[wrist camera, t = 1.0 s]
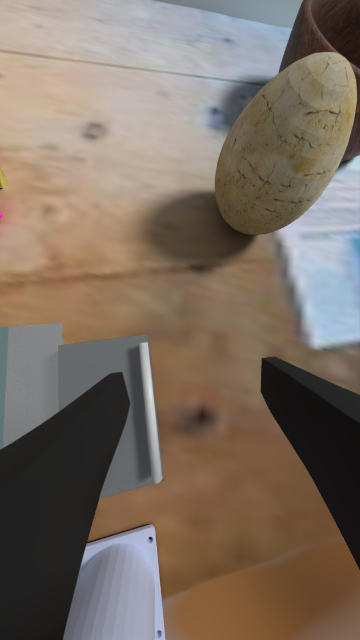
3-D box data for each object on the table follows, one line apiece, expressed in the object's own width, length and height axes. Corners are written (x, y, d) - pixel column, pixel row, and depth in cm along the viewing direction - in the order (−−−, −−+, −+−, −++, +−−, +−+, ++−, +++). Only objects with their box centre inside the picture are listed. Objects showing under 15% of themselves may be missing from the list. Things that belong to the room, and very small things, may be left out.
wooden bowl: (297, 68, 38) (346, -34, 28) (385, 135, 37) (468, 54, 27) (236, 115, 32) (272, 7, 22) (339, 197, 31) (425, 123, 21)
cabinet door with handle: (162, 462, 18) (164, 494, 14) (74, 484, 17) (47, 528, 13) (149, 336, 21) (147, 332, 17) (71, 346, 20) (47, 344, 15)
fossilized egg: (269, 188, 29) (381, 21, 15) (284, 254, 27) (438, 132, 12) (198, 184, 27) (245, -13, 13) (208, 254, 25) (281, 111, 10)
